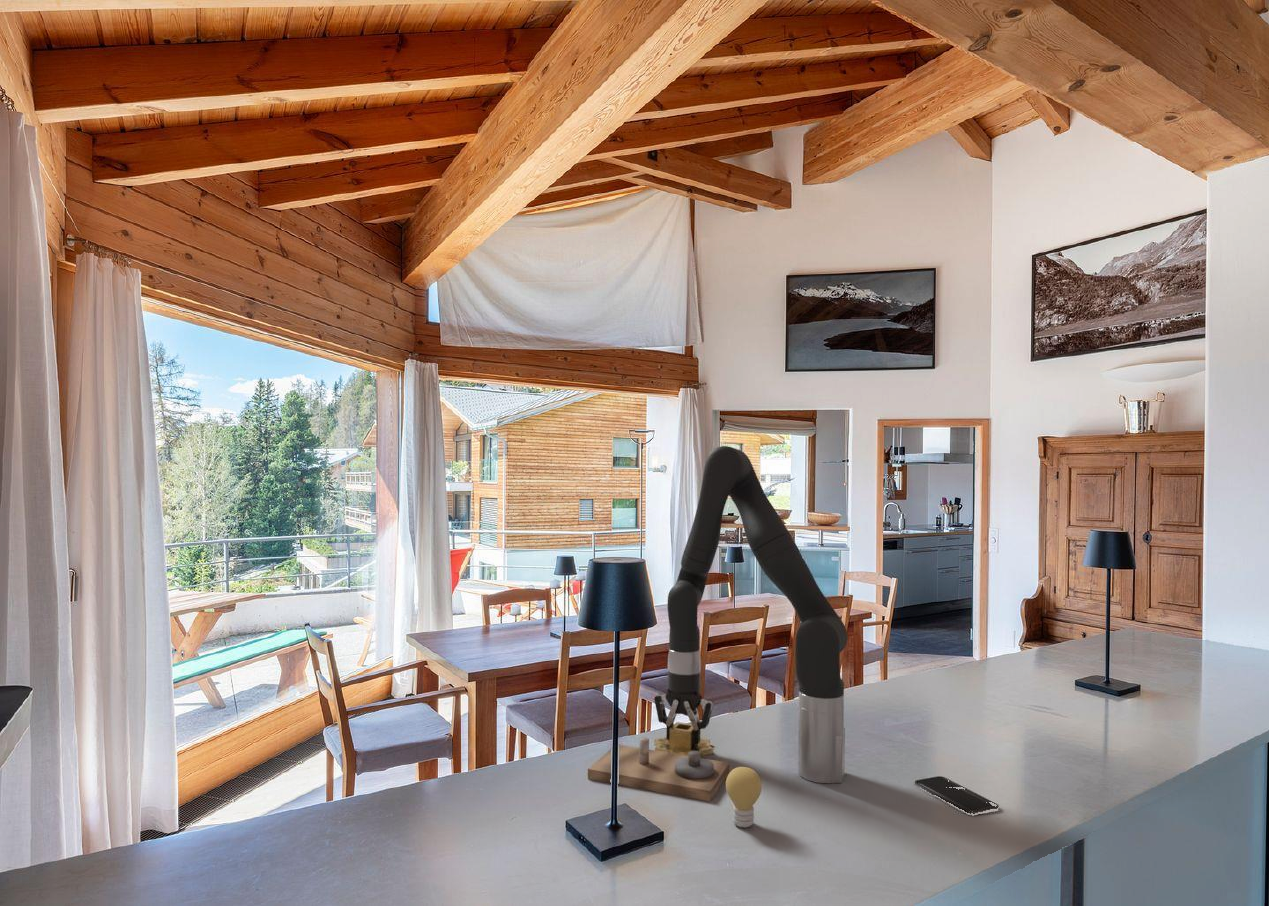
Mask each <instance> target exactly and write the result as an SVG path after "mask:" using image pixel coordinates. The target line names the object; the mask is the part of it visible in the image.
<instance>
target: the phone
mask: <svg viewBox="0 0 1269 906" xmlns="http://www.w3.org/2000/svg"><path fill="white" fill-rule="evenodd" d="M948 780H949V782H948ZM915 785H916V786H918V787H921V788H922V789H924V790H926V791H927V792H929V793H931V794H932V795H936V796H938V797H940V798H941V799H943V800H945V801H946V802H949V803H951V804H953V805H954V806H956V807H958V808H959V809H962V810H964V811H965V812H967V813H970V814H971V813H973V814H975V813H978V812H983V811H986V810H990V809H997V808H998V807H999V808H1000V806H999V804H998V803H996V802H994V801H991V800H990V799H988V798H986V797H984V796H982V795H980V794H978V793H976V792H974V791H972V790H971V789H968V788H966V787H964V786H963V785H961V784H959V783H958V782H957V783H956V782H955V781H953V780H951V779H949V778H947V777H945V776H941V775H937V776H933V777H927V778H921V779H917V780H915V781H914V786H915ZM916 786H915V787H916ZM918 787H917V788H918ZM946 787H947V788H946ZM949 787H952V788H949ZM953 787H963V788H965V790H964V789H959V790H958V789H956V788H953ZM927 792H926V793H927ZM932 795H931V796H932ZM986 802H987V803H986ZM989 802H992V803H994V804H996V805H997V806H996V807H995V806H992V805H991V804H990V803H989Z"/></svg>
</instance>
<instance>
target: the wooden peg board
mask: <svg viewBox="0 0 1269 906" xmlns="http://www.w3.org/2000/svg"><path fill="white" fill-rule="evenodd" d="M618 745H619V785H620V786H625V787H630V788H636V789H640V790H645V791H651V792H656V793H662V794H667V795H672V796H674V795H675V796H678V797H683V798H688V799H689V798H690V799H693V800H694V799H695V800H701V801H704V802H711V801H712V799H713V797H715V795H716V793H717V792H718V791H719V789H720V787H721V786H722V784H723V782H725V781H726V780H725V779H727V777H728V775H729V773H730V763H731V762H727V761H721V760H716V759H714V760H713V759H709V758H703V757H700V752H698V751H690V752H689V756H685V755H679V754H673V753H667V752H661V751H655V749H650V738H648V737H646V736H645V737H644V736H643V737H640V738H639V747H637V746H636V747H635V746H629V745H625V744H624V745H623V744H618ZM611 749H612V748H610V749H609V750H608V751H607V752H606V753H604V754H603V755H602V756H601V757H600V758H599V759H597V760H596V761H595V762H594V763H593V764H592V765H590V767H588V768H587V780H593V781H597V782H602V783H609V784H611V783H610V779H611Z"/></svg>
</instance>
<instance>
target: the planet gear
mask: <svg viewBox="0 0 1269 906" xmlns="http://www.w3.org/2000/svg"><path fill="white" fill-rule="evenodd" d="M692 734H693V726H692V723H685V722H679V721H676V722H675V723H674V725H673V726H672V727H671V728H670V738H669V740H667V737H666V736H665V737H659V738H654V739H653V740H654V741H653V744H654V746H655V749H654V750H655V751H661V752H667V753H673V754H679V755H685V756H689V752H690V751H698V752H700V758H702V756H707V755H713V754H714V748H713V747H712V746H711V739H710V738H708V739H707V738H702V737H700V742H699V743H698V744H697V746H696V747H694V746H692Z"/></svg>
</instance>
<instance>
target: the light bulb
mask: <svg viewBox="0 0 1269 906" xmlns="http://www.w3.org/2000/svg"><path fill="white" fill-rule="evenodd" d="M725 779H726V780H725V789H726V793H727V795H728V797H729V799H730V800H731V801H732V803H733V806H732V823H733V824H734V825H735V826H737V827H738V828H745V829H746V828H749V827H752V825H754V823H755V821H754V820H755V818H754V817H755V813H754V812H755V808H754V805H755V803H756V802H757V801H758V799H759V798H760V795H761V793H762V781H761V778H760V776H759V774H758V773H757V772H756V771H755V770H754V769H753V768H750V767H747V766H737V767H735V768H733V769H732V770H730V771H729V774H728V775H727V777H726V778H725Z"/></svg>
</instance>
